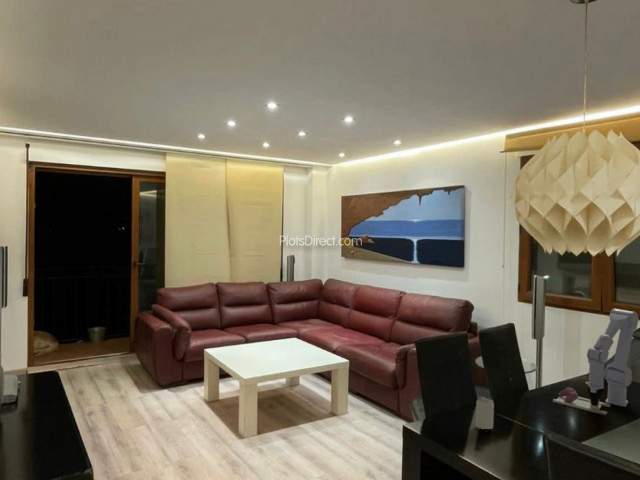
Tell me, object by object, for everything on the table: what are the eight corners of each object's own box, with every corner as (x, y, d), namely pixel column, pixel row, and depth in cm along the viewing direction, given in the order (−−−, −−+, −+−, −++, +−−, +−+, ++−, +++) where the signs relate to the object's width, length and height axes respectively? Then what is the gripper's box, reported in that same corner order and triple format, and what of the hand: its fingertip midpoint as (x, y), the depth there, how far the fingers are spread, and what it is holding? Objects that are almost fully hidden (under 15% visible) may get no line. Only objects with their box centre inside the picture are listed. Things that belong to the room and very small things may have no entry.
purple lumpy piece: (573, 407, 201) (581, 395, 201) (564, 402, 202) (572, 389, 201) (565, 399, 211) (573, 387, 210) (556, 394, 212) (564, 382, 211)
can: (492, 427, 175) (493, 397, 175) (493, 434, 169) (494, 403, 169) (475, 424, 178) (476, 395, 177) (475, 431, 171) (476, 400, 171)
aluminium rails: (559, 394, 215) (559, 392, 215) (610, 406, 201) (610, 404, 201) (553, 402, 205) (553, 399, 205) (606, 415, 191) (606, 412, 191)
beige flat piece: (560, 395, 213) (560, 386, 213) (601, 405, 202) (601, 396, 202) (555, 401, 205) (555, 392, 205) (597, 412, 194) (598, 402, 194)
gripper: (589, 369, 207) (587, 397, 208) (583, 376, 196) (581, 406, 197) (606, 372, 203) (605, 401, 203) (601, 380, 192) (600, 410, 192)
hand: (595, 404), depth 199 cm, fingers closed on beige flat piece, 3 cm apart
